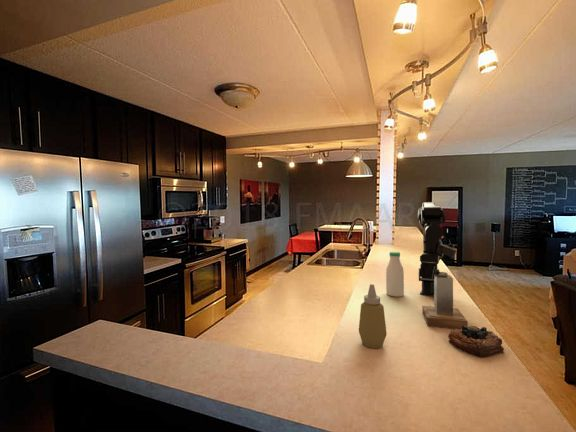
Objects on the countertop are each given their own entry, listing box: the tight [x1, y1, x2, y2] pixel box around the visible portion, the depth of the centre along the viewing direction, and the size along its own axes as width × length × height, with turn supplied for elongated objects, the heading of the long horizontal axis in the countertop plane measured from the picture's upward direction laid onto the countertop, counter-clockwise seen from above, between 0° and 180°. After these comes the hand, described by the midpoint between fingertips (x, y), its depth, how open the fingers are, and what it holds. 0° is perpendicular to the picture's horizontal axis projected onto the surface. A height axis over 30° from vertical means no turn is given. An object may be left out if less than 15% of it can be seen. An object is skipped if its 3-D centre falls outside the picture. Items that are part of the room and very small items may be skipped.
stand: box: [421, 305, 469, 330], centre depth 99 cm, size 12×12×3 cm
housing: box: [433, 271, 454, 316], centre depth 99 cm, size 5×5×14 cm
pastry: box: [447, 325, 505, 359], centre depth 81 cm, size 11×12×6 cm
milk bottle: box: [385, 251, 405, 298], centre depth 131 cm, size 8×8×20 cm
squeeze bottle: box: [358, 284, 387, 349], centre depth 84 cm, size 8×8×18 cm
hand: (432, 276), depth 112 cm, fingers open, 9 cm apart
